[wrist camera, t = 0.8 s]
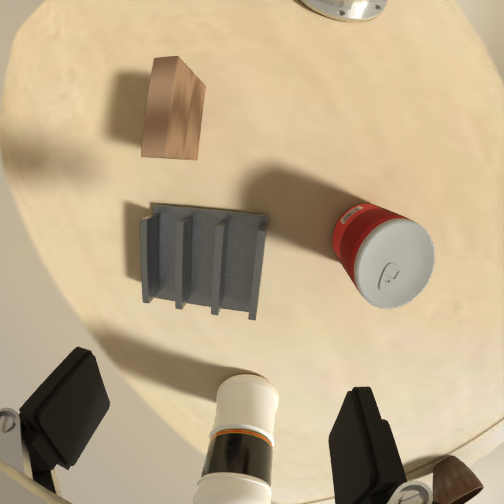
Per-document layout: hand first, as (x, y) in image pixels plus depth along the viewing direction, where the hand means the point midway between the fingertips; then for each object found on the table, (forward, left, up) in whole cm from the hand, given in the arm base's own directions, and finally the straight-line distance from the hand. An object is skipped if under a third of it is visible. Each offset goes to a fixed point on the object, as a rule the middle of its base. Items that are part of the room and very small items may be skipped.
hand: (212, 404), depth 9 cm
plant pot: (+57, +60, -25) cm, 87 cm away
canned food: (-2, +12, -25) cm, 28 cm away
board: (-13, -9, -25) cm, 29 cm away
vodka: (+24, +1, -25) cm, 35 cm away
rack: (+3, -6, -25) cm, 26 cm away
